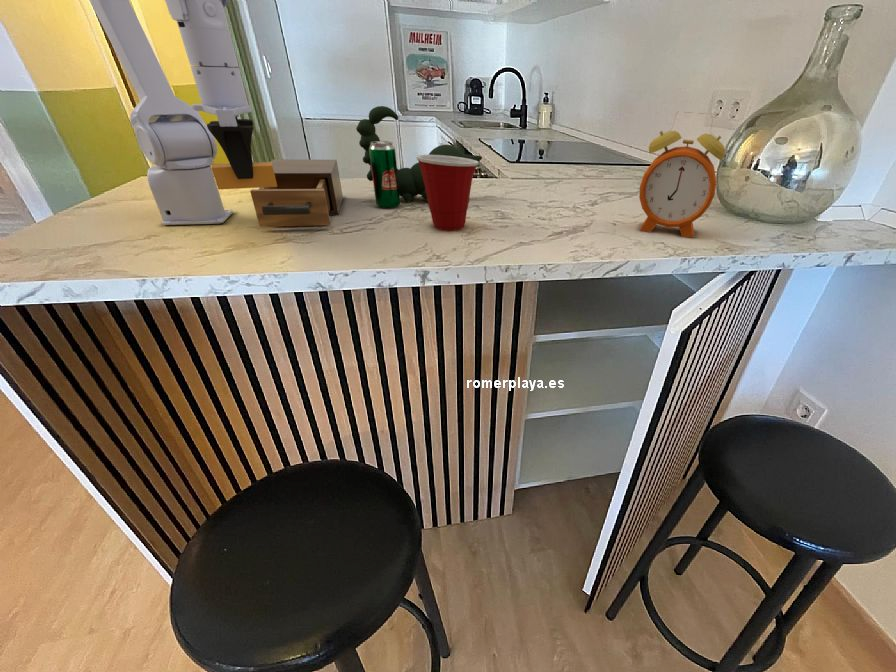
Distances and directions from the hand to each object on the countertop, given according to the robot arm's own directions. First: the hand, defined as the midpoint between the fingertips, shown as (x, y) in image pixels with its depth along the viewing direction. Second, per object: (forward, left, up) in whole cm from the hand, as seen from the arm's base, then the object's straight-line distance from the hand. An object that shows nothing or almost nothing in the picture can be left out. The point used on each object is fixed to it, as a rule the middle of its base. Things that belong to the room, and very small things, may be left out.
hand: (245, 175), depth 68 cm
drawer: (+5, +9, -9) cm, 14 cm away
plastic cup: (+32, +5, -10) cm, 33 cm away
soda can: (+21, +21, -10) cm, 31 cm away
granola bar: (0, 0, -1) cm, 1 cm away
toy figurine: (+29, +26, -10) cm, 40 cm away
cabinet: (+4, +22, -10) cm, 25 cm away
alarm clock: (+74, -2, -10) cm, 74 cm away
